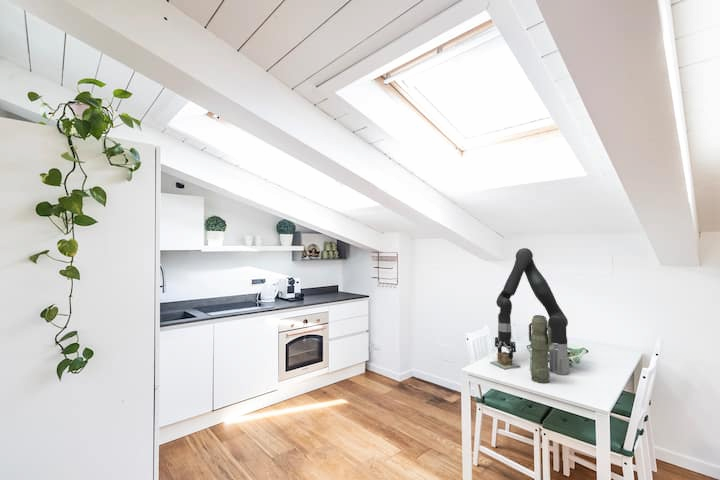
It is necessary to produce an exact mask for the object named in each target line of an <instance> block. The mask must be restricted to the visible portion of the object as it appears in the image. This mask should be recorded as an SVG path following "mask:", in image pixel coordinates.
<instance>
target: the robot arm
mask: <svg viewBox="0 0 720 480" xmlns="http://www.w3.org/2000/svg"><path fill="white" fill-rule="evenodd" d="M533 257H534V255H533V252H532V250H531V249H529V248H528V247H527V248H526V247H524V248H522V247H521V248H520V249H518V250H517V252H516V253H515V261H514V264H513V267H512V270H511V272H510V273H509V276H508V277H507V280H506V282H505V284H504V286H503V289H502V291H501V292H500V294H499V295H498V296H497V299H496V306H497V307H498V308H499V309H500V310H499V313H498V315H497V319H498V321H497V336H496V337H494V347H495V348H497V353H501V352H503V351H502V350H503V348H505V349H507V351H508V353H509V359H512V360H513V358H514V353H516V352H517V349H516V348H517V346H516V341H511V340H512V324H511V323H512V322H511V321H512V320H511V314H512V309H513V304H512V301H511V298H512V297H513V296H514V295H515V294H516V292H517V290H518V287H519V285H520V282H521V280H522V277H523V274H525V276H526V279H527V281H528V283H529V284H528V285H529V286H530V288H531V290H532V292H533V294H534V296H535V298H536V299H537V301H539V302H540V304H541V305H542V306H543V307H544V309H545V310H546V313H547V316H548V318H549V319H548V320H547V322H548V326H549V327H550V328H551V345H550V346H549V350H548V367H549V373H550V372H551V374H552V373H553V374H556V375H560V376H564V375H565V376H566V375H570V356H568V337H567V327H568V324H569V320H568V319H567V316H566V315H565V314H564V311H563V310H562V309H561V307H560V306H559V304H558V302H557V300H556V297H555V296H554V294H553V292H552V290H551V287H550V286H549V283H548V282H547V280H546V279H545V277H544V276H543V275H542V272H540V271H539V269H538V268H537V266H536V264H535V262H534V260H533Z"/></svg>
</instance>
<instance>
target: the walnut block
mask: <svg viewBox="0 0 720 480" xmlns="http://www.w3.org/2000/svg"><path fill="white" fill-rule="evenodd" d="M496 357H497V360H496V361H497V362H498V363H499V364H501V365H504V366H508V365H513V364H512V362H513V358H512V359H509V352H506V351H502V352H501V353H498V352H497V354H496Z"/></svg>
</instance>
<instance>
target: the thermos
mask: <svg viewBox="0 0 720 480" xmlns="http://www.w3.org/2000/svg"><path fill="white" fill-rule="evenodd" d="M528 341H529V342H530V349H531V348H532V366H531V371H530V375H531V381H533V382H535V383H538V384H549V383H550V370H549V346H550V345H551V328H550V327H549V326H548V320H547V317H546V316H544V315H542V314H541V315H540V314H535V315H533V317H532V319H531V322H530V323H529V324H528Z"/></svg>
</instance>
